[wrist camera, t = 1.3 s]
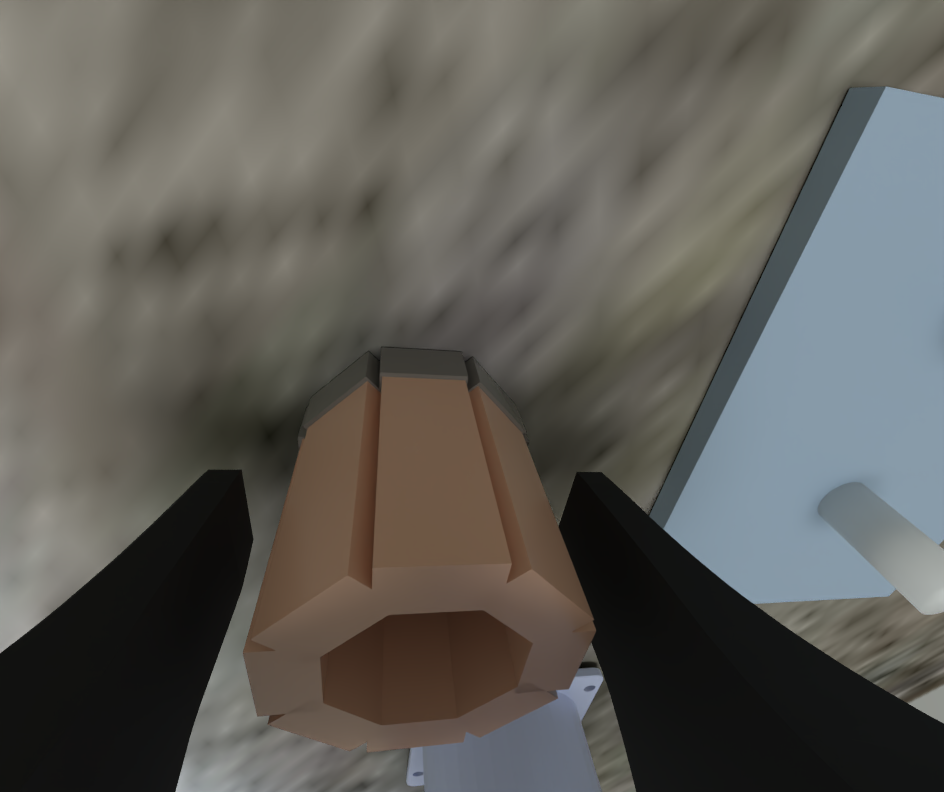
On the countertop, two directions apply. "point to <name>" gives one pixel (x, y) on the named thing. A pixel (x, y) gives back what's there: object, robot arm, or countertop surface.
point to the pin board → (834, 383)
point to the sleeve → (414, 565)
